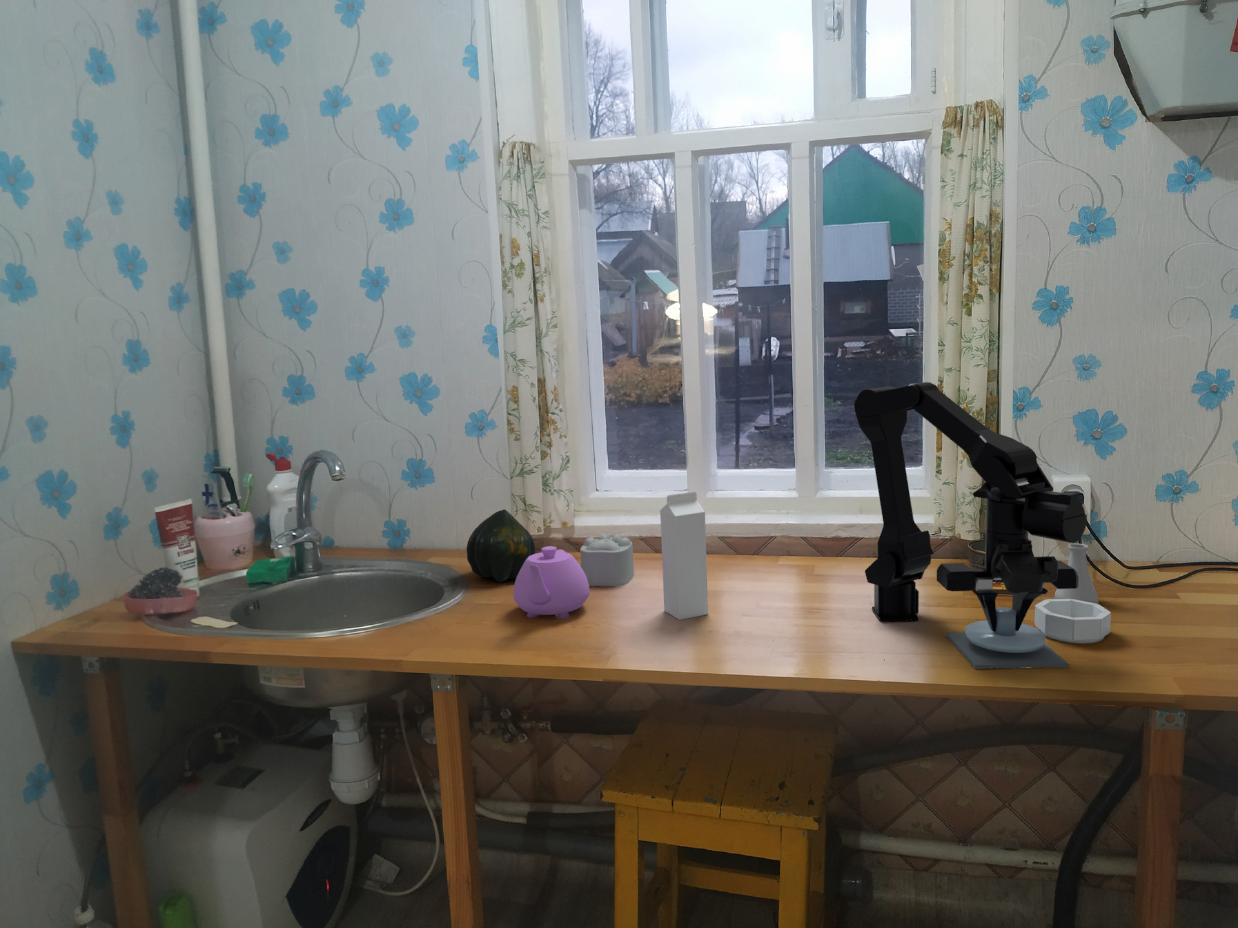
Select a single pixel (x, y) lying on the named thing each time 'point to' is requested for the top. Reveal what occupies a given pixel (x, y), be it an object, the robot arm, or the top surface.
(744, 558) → the top surface
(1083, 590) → the flask
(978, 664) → the plate
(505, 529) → the squash
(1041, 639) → the lid
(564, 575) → the teapot
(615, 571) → the grey lumpy-topped tub
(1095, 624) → the bowl
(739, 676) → the top surface
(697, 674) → the top surface
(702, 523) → the milk
